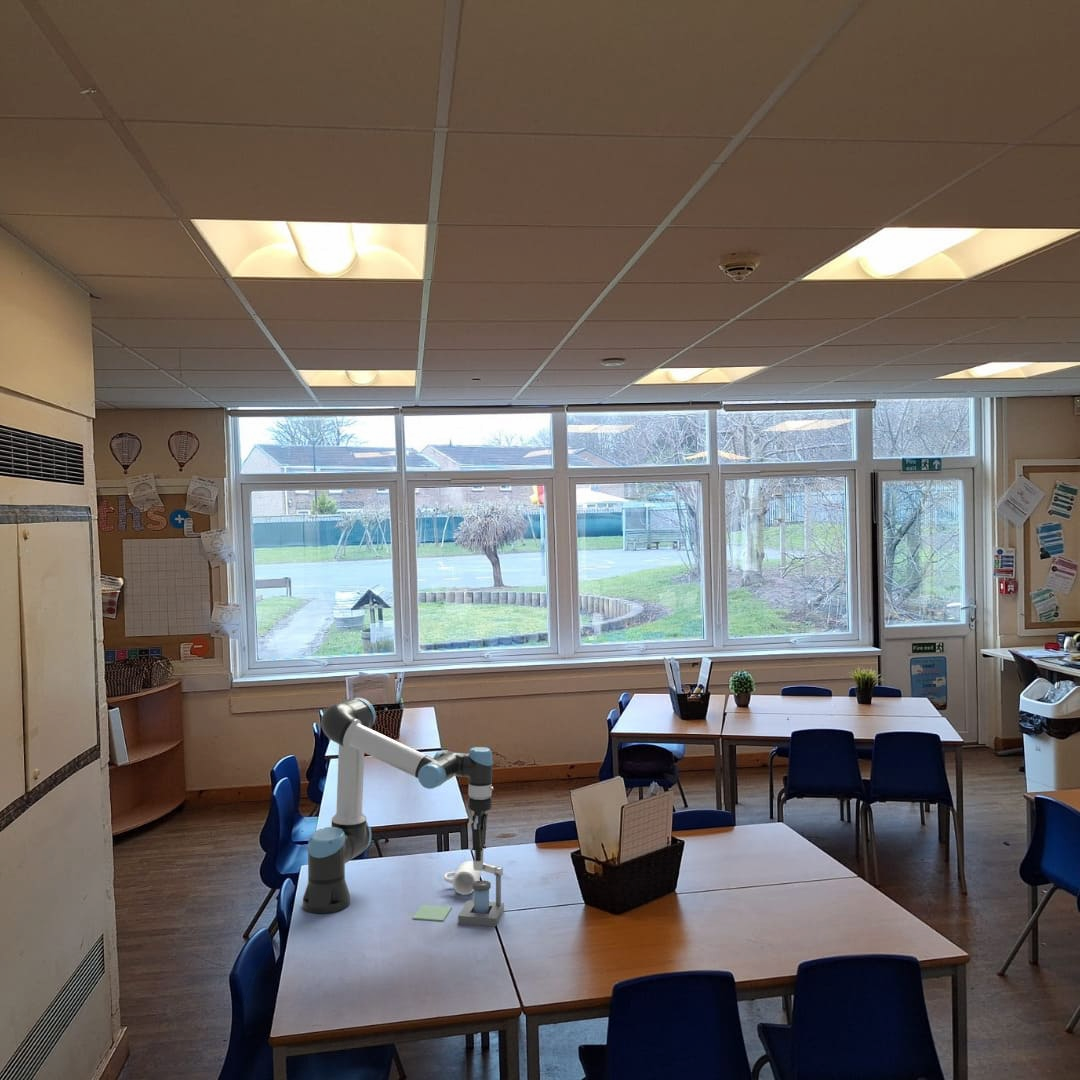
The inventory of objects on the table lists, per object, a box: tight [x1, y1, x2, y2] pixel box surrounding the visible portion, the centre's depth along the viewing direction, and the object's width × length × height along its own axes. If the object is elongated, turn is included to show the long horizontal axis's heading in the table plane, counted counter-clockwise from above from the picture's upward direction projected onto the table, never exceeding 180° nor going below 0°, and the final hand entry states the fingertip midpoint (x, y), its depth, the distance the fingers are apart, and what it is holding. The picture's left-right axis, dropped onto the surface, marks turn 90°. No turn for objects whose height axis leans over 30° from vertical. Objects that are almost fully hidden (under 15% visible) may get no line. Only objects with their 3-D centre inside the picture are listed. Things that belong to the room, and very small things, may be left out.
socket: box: [457, 875, 505, 928], centre depth 287 cm, size 12×12×12 cm
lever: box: [472, 861, 504, 877], centre depth 293 cm, size 11×3×2 cm, turn 54°
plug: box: [472, 880, 492, 914], centre depth 287 cm, size 6×6×10 cm
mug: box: [443, 860, 482, 896], centre depth 310 cm, size 12×10×8 cm
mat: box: [412, 904, 453, 922], centre depth 290 cm, size 10×10×1 cm
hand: (478, 869), depth 293 cm, fingers closed
